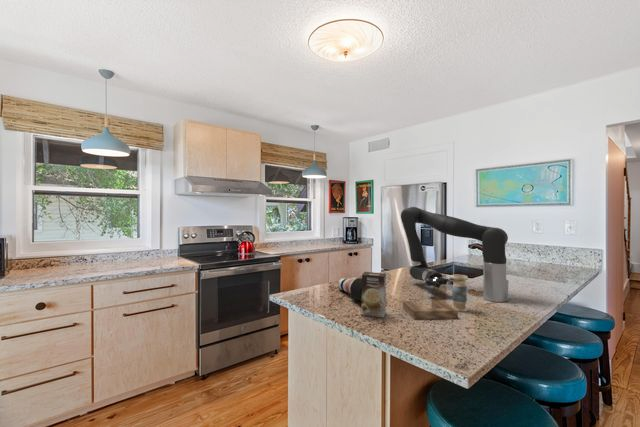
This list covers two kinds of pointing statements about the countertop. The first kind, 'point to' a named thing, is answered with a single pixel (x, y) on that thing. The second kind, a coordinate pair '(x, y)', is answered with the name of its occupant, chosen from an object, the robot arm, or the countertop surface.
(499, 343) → the countertop surface
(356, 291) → the black white tapered cylinder
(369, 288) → the coffee box
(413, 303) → the notched board
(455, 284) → the cord spool
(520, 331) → the countertop surface
